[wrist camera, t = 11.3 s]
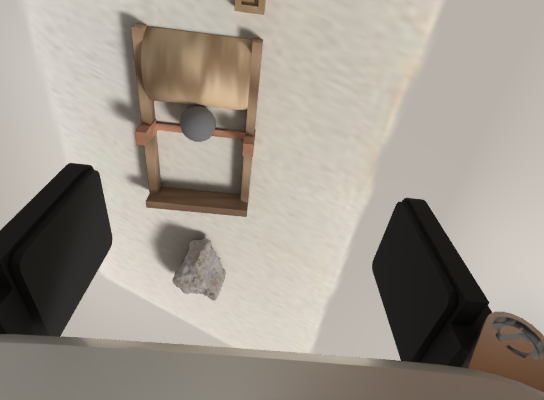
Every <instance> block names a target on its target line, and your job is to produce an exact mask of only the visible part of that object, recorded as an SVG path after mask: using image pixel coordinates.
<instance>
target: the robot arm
mask: <svg viewBox="0 0 544 400" xmlns="http://www.w3.org/2000/svg"><path fill="white" fill-rule="evenodd" d="M111 245H112V233H111V228H110V223H109V218H108V214H107V209H106V204H105V199H104V194H103V189H102V184H101V179H100V175H99V172H98V171H96V170H94V169H93V167H92V166H91V165H84V164H75V163H69V164H68V165H66V166H65V167H64V168H63V169H62V170H61V171H60V172H59V173H58V174H57V175H56V176H55V177H54V178H53V179H52V180H51V181H50V182H49V183H48V184H47V185H46V186H45V187H44V188H43V189H42V190H41V191H40V192H39V193H38V194H37V195H36V196H35V197H34V198H33V199H32V200H31V201H30V202H29V203H28V204H27V205H26V206H25V207H24V208H23V209H22V210H21V211H20V212H19V213H18V214H17V215H16V216H15V217H14V218H13V219H12V220H11V221H9V222H8V223H7V224H6V225H5V226H4V227H3V228H2V230H0V400H544V336H543V335H542V334H541V333H540V332H539V331H538V330H537V329H536V328H535V327H534V326H533V325H531V324H530V323H528V322H527V321H525V320H524V319H522V318H520V317H518V316H515V315H513V314H510V313H506V312H494V313H492V311H491V310H490V308H489V307H488V304H489V301H488V300H487V298H486V297H485V295H484V293H483V292H482V290H481V289H480V287H479V285H478V284H477V282H476V281H475V279H474V278H473V276H472V274H471V273H470V271H469V269H468V268H467V266H466V265H465V263H464V262H463V260H462V258H461V257H460V255H459V254H458V252H457V250H456V249H455V247H454V246H453V244H452V242H451V241H450V239H449V238H448V236H447V234H446V233H445V232H444V230H443V228H442V227H441V225H440V223H439V222H438V220H437V219H436V217H435V215H434V214H433V212H432V211H431V209H430V208H429V206H428V204H427V203H426V201H424V200H421V199H411V198H405V199H404V200H403V201H402V202H398V203H397V204H396V206H395V209H394V211H393V214H392V216H391V219H390V221H389V224H388V226H387V228H386V231H385V233H384V235H383V238H382V240H381V243H380V245H379V248H378V250H377V252H376V255H375V257H374V260H373V264H372V270H373V274H374V276H375V280H376V283H377V286H378V289H379V293H380V296H381V299H382V302H383V305H384V308H385V311H386V314H387V317H388V321H389V324H390V327H391V330H392V333H393V337H394V339H395V343H396V346H397V349H398V352H399V356H400V359H401V361H396V360H385V359H373V358H360V357H346V356H334V355H321V354H308V353H295V352H281V351H267V350H254V349H240V348H225V347H212V346H211V347H210V346H198V345H183V344H169V343H154V342H139V341H124V340H109V339H108V340H107V339H93V338H78V337H60V336H61V334H62V332H63V330H64V329H65V327H66V325H67V323H68V321H69V320H70V318H71V316H72V314H73V313H74V311H75V309H76V307H77V305H78V304H79V302H80V300H81V299H82V297H83V295H84V293H85V292H86V290H87V288H88V286H89V285H90V283H91V281H92V279H93V278H94V276H95V274H96V272H97V271H98V269H99V267H100V265H101V264H102V262H103V260H104V258H105V257H106V255H107V253H108V251H109V250H110V248H111Z"/></svg>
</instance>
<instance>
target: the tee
mask: <svg viewBox="0 0 544 400" xmlns="http://www.w3.org/2000/svg"><path fill="white" fill-rule="evenodd" d="M265 1H266V0H235V11H239V12H247V13H255V14H262V15H264V12H265Z"/></svg>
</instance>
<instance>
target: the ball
mask: <svg viewBox="0 0 544 400" xmlns="http://www.w3.org/2000/svg"><path fill="white" fill-rule="evenodd" d="M180 127H181V130H182V132H183V134H184V135H185V136H186V137H187V138H189V139H190V140H193V141H197V142H200V141H205V140H207V139H209V138H210V137H211V136H212V134H213V133H214V131H215V127H216V122H215V118H214V116H213V114H212V113H211V112H210V111H209V110H208V109H206V108H204V107H202V106H193V107H190V108H188V109H187V110H185V111H184V113H183V114H182V116H181V119H180Z"/></svg>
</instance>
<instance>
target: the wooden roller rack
mask: <svg viewBox="0 0 544 400" xmlns="http://www.w3.org/2000/svg"><path fill="white" fill-rule="evenodd" d="M131 31H132V40H133V49H134V58H135V67H136V75H137V84H138V93H139V102H140V111H141V120H142V123H141V125H140V126H139V127H138V128H137V130H136V131H135V138H136V145H142V146H144V147H145V156H146V165H147V174H148V183H149V191H150V194H149V196H148V198H147V200H146V207H148V208H158V209H169V210H180V211H190V212H201V213H212V214H222V215H233V216H243V217H246V216H247V207H248V197H249V186H250V175H251V164H252V157H253V150H254V140H255V121H256V110H257V99H258V88H259V77H260V66H261V55H262V45H263V40H260V39H253V40H251V39H243V38H235V37H227V36H219V35H212V34H204V33H196V32H188V31H180V30H172V29H164V28H156V27H148V26H147V25H142V24H136V25H134V26H131ZM154 100H155V101H164V102H173V103H181V104H190V105H199V106H208V107H217V108H225V109H234V110H243V111H247V122H246V130H245V132H240V131H231V130H222V129H215V131H214V133H213V134H212V136H217V137H227V138H236V139H244V142H243V153H242V156H244V161H243V174H242V187H241V195H237V194H227V193H217V192H206V191H196V190H186V189H176V188H166V187H161V180H160V168H159V157H158V145H157V134H156V132H157V130H162V131H171V132H180V133H183V132H182V130H181V127H180V125H176V124H167V123H158V122H156V119H155V111H154Z"/></svg>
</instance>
